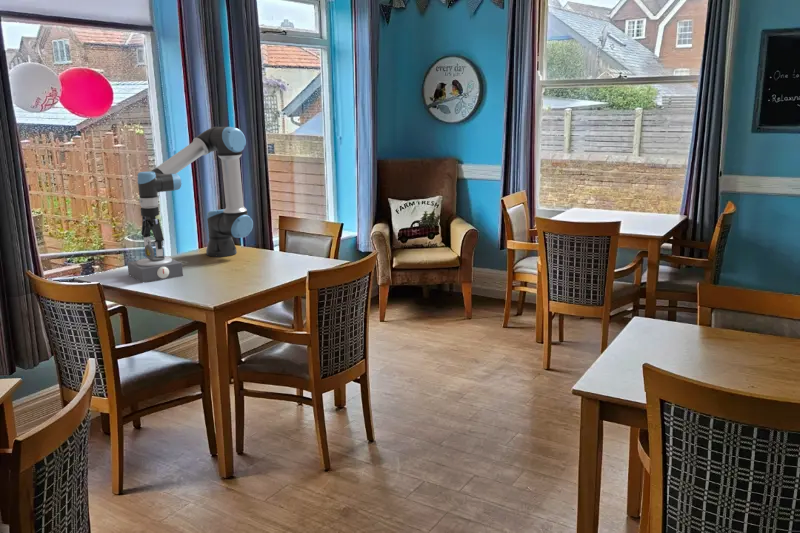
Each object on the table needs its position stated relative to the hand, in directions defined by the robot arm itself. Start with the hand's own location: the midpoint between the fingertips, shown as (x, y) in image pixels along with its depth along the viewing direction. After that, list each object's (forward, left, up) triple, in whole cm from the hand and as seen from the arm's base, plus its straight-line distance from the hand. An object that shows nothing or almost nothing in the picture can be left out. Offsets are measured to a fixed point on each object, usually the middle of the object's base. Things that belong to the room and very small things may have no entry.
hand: (154, 253), depth 304 cm
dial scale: (0, 0, -10) cm, 10 cm away
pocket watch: (0, 0, -3) cm, 3 cm away
